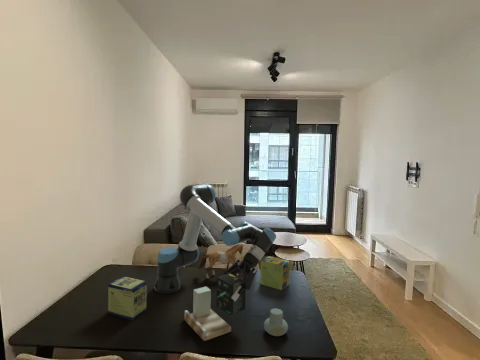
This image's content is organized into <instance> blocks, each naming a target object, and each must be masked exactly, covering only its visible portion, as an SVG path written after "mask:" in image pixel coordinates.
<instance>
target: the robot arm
mask: <svg viewBox="0 0 480 360" xmlns="http://www.w3.org/2000/svg"><path fill="white" fill-rule="evenodd" d="M215 191H216V190H215V189H214V186H212V185H211V184H207V183H202V184H189V185H186V186H185V187H183V188H182V189H181V191H180V193H179V200H180V203H181V205H182V206H183V207H184V208H185V209H186V210H187V211H189V214H188V218H187V222H186V226H185V229H184V234H183V237H182V240H180V242H178V246H177V247H173V246H170V247H165V248H162V249H160V250H159V252H158V253H157V259H156V260H157V277H156V280H155V281H154V289H153V290H154V292H156V293H158V294H162V295H168V294H173V293H176V292H178V291H180V289H181V281H180V278H179V275H178V273H179V272H178V271H179V269H181V268H183V267H187V266H191V265H192V264H194V263H195V262H197V261H198V259H199V256H200V251H199V250H200V249H199V248H198V245H197V241H198V237H199V234H200V230H201V227H202V223H203V222H204V223H205V224H207V225H208V226H209V227H211V228H212V229H213V230H214V231H215V232H217V233H218V234H219V235H220V236H221V240H222V243H223V244H224V245H225V246H227V247H229V246H231V247H232V246H235V245H238V244H241V243H243V242H245V241H250V242H252V245H251V246H250V248H249V249H248V252H246V253H245V255H244V256H243V257H242V261H241V260H240V259H236V261H235V263H234V264H233V265H231V266H230V267H228V269H227V268H226V269H227V270H225V271H224V272H223V275H226V274H229V273H230V274H231V273H233V274H235V275H236V274H237V273H238V274H239V273H243V276H242V278H243V280H242V285H241V286H242V287H241V286H239V287H238V289H237V290H236V292H235V293H234V294H233V296H232V297H231V298H232V299H233V300H234V301H236V300H237V299H238V297H239V296H240V295H241V294H242V293H243V291H244V290H245V291H246V290H247V291H248V290H250V289H251V286H252V283H253V281H254V278H255V276H256V274H257V272H258V270H257V269H256V267H257V266H258V265H259V263H260V261H261V260H263V257H264V256H265V254H266V253H267V251H268V250H269V249H270V248H271V246H272V245H273V244H274V242H275V240H276V239H277V234H276V233H275V232H274V230H272V229H271V228H269V227H265V228H263V229H261V228H258V227H257V226H255V225H253V224H252V223H250V222H248V221H241V223H240V224H239V225H238V227H235V226H234V225H233V224H232V223H230V222H229V221H228V220H227V219H226V218H224V217H223V216H222V215H221V214H219V213H218V212H217V211H216V210H214V209H213V208H212V207H210V204H212V203H213V202H214V201H216V196H217V195H216V192H215Z"/></svg>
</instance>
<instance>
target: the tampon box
mask: <svg viewBox="0 0 480 360" xmlns="http://www.w3.org/2000/svg"><path fill="white" fill-rule="evenodd" d="M242 280H243V277H241V276H239V275H238V276H237V275H235V274H233V273H231V274H230V273H229V274H226V275H225V274H223V275H219V276H217V277H216V298H215V299H216V305H215V306H216V307H217V308H218V309H220V310H221V311H223V312H224V313H226V314H227V315H228V316H232V315H235V314H236V313H240V312H241V311H244V310H246V289H245V290H244V291H243V293H242V294H241V295H240V296H239V297H238V299H237V300H236V301H234V300H233V299H232V298H231V297H232V296H233V294H234V293H235V292H236V290H237V289H238V287H239V286H241V285H242ZM241 287H242V286H241Z"/></svg>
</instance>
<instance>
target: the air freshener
mask: <svg viewBox="0 0 480 360" xmlns="http://www.w3.org/2000/svg"><path fill="white" fill-rule="evenodd" d="M283 317H284V312H283V310H282V309H279V308H276V307H275V308H271V309H270V310H269V317H267V318H266V319H265V321H264V322H263V327H264V330H265V332H266V333H267V334H268V335H271V336H273V337H280V336H283V335H285V334H286V333H287V331H288V329H289V325H288V323H287V321H286V320H285V319H284V318H283Z"/></svg>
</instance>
